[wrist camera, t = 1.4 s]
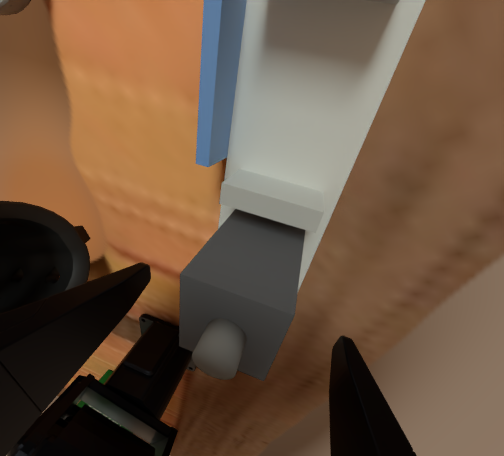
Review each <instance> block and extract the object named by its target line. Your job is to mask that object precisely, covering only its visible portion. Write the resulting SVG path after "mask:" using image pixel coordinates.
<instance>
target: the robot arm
mask: <svg viewBox="0 0 504 456" xmlns="http://www.w3.org/2000/svg"><path fill="white" fill-rule="evenodd" d="M150 279H151V273H150V266H149V265H148V264H145V263H138V264H135V265H132V266H130V267H127V268H124V269H122V270H119V271H116V272H114V273H111V274H108V275H106V276H103V277H100V278H98V279H95V280H92V281H90V282H87V283H84V284H82V285H79V286H76V287H74V288H71V289H68V290H66V291H63V292H60V293H58V294H55V295H52V296H50V297H48V298H44V299H41V300H39V301H36V302H33V303H31V304H28V305H25V306H22V307H19V308H17V309H14V310H11V311H8V312H5V313H1V314H0V456H6V455H7V456H169V455H170V452H171V449H172V446H173V443H174V440H175V438H176V435H177V432H178V430H177V429H175V428H174V427H169V426H168V425H166V424H165V423H163V422H162V421H160V419H161V417H162V415H163V413H164V411H165V409H166V407H167V405H168V403H169V401H170V399H171V398H172V396H173V394H174V392H175V390H176V388H177V386H178V384H179V382H180V380H181V378H182V376H183V374H184V372H185V371H186V369H188V370H190V371H195V369H196V367H197V366H196V365H195V364H194V362H193V360H192V353H193V352H192V351H190V350H187V349H185V348H182V347H180V346H179V327H176V326H174V325H171V324H169V323H166V322H164V321H161V320H159V319H156V318H154V317H151V316H149V315H147V314H142V315H141V316H140V317H139V321H140V328H141V335H142V336H141V337H140V338H139V340H138V341H137V342H136V343H135V345H134V346H133V347H132V348H131V350H130V351H129V352H128V354H127V355H126V356H125V357H124V359H123V360H122V361H121V362H120V364H119V365H118V366H117V367H116V369H115V370H114V371H113V373H112V374H111V375H110V376H109V378H108V379H107V380H106V381H105V383H104V384H102V383H101V382H99V381H98V380H96V379H95V377H94V376H93V375H91V374H88V376H87V377H86V376H81V375H79V376H78V377H77V378H76V379H75V380H74V381H73V382H72V383H71V385H70V386H69V387H68V388H67V389H66V390H65V391H64V392H63V393H62V394H61V395H60V396H59V398H58V399H57V400H56V401H55V402H54V403H53V404H52V405H51V406H50V407H49V408H48V409H47V410H45V409H46V408H47V407H48V405H49V404H50V403H51V402H52V401H53V399H54V398H55V397H56V396H57V395H58V394H59V392H60V391H61V390H62V389H63V388H64V387H65V385H66V384H67V383H68V382H69V381H70V380H71V378H72V377H73V376H74V375H75V374H76V372H77V371H78V370H79V369H80V368H81V367H82V365H83V364H84V363H85V362H86V361H87V360H88V358H89V357H90V356H91V355H92V354H93V353H94V351H95V350H96V349H97V348H98V347H99V346H100V344H101V343H102V342H103V341H104V340H105V338H106V337H107V336H108V335H109V334H110V333H111V331H112V330H113V329H114V328H115V327H116V326H117V324H118V323H119V322H120V321H121V320H122V319H123V317H124V316H125V315H126V314H127V313H128V311H129V310H130V309H131V307H132V306H133V305H134V303H135V302H136V300H137V299H138V298H139V296H140V295H141V293H142V292H143V290H144V289H145V287H146V286H147V285H148V283H149V282H150ZM79 400H82V401H83V402H85V403H87V404H88V405H90V406H91V407H93V408H95V409H96V410H98V411H99V412H101V413H103V414H104V415H106V416H107V417H109V418H111V419H112V420H114V421H115V422H117V423H118V424H120V425H122V426H123V427H125V428H126V429H128V430H130V431H131V432H133V433H134V434H136V435H138V436H139V437H141V438H142V439H144V440H145V441H147V442H149V443H150V444H148V443H147V442H145V441H144V440H142V439H140V438H139V437H137V436H136V435H134V434H133V433H131V432H129V431H128V430H126V429H125V428H123V427H121V426H120V425H118V424H117V423H115V422H113V421H112V420H110V419H109V418H107V417H106V416H104V415H102V414H101V413H99V412H98V411H96V410H94V409H93V408H91V407H90V406H88V405H86V404H84V406H83V407H82V408H81V407H79V406H77V405H76V404H77V403H78V402H79ZM329 409H330V445H331V456H416V454H415V452H413V449H412V447H411V445H410V443H409V441H408V440H407V438H406V436H405V434H404V432H403V430H402V429H401V427H400V425H399V423H398V421H397V420H396V418H395V416H394V414H393V413H392V411H391V409H390V407H389V405H388V403H387V401H386V400H385V398H384V396H383V394H382V392H381V391H380V389H379V387H378V385H377V384H376V382H375V380H374V378H373V376H372V375H371V373H370V371H369V369H368V367H367V365H366V363H365V362H364V360H363V358H362V356H361V354H360V353H359V351H358V349H357V347H356V345H355V344H354V342H353V340H352V339H350V338H348V337H345V336H340V337H339V339H338V340H337V342H336V343H335V345H334V346H333V349H332V359H331V372H330V385H329ZM44 410H45V411H44ZM43 411H44V413H42V412H43Z"/></svg>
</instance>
